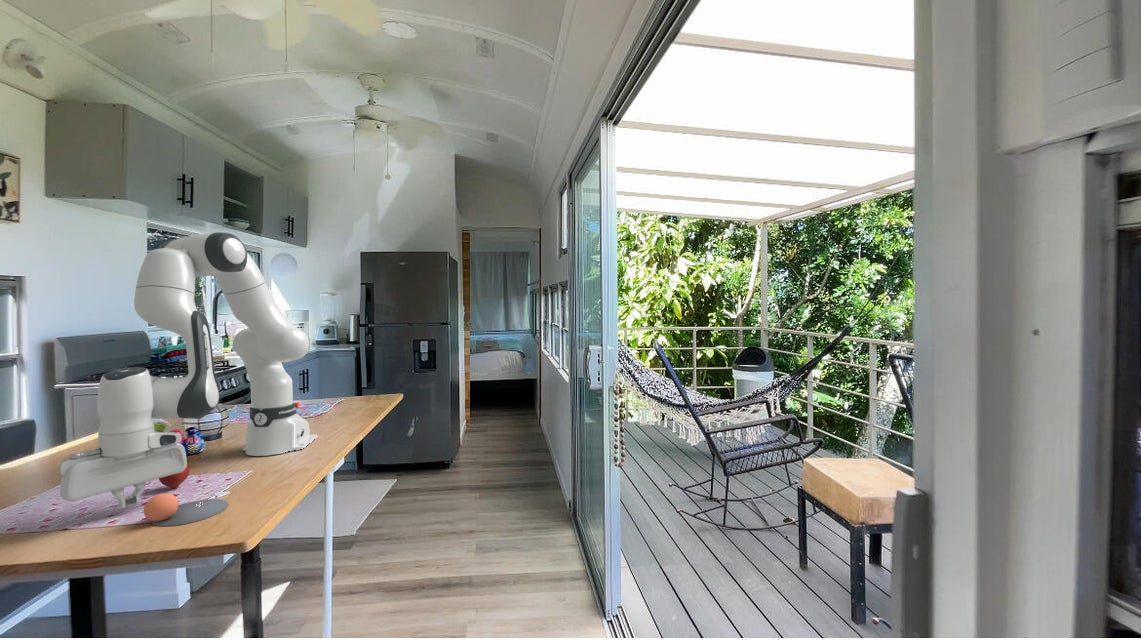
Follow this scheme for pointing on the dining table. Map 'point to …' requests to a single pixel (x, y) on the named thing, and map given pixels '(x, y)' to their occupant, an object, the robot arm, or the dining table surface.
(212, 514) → the disc
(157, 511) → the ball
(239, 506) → the dining table surface
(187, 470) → the onion
